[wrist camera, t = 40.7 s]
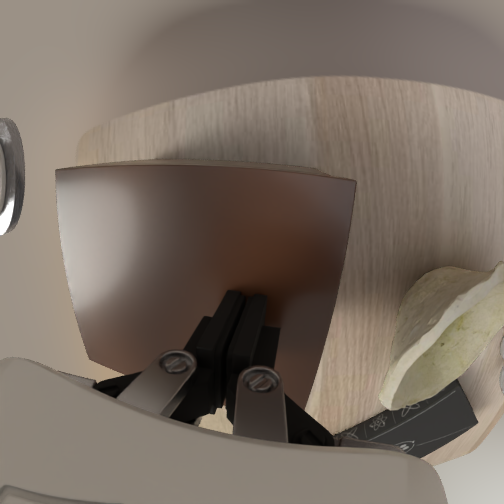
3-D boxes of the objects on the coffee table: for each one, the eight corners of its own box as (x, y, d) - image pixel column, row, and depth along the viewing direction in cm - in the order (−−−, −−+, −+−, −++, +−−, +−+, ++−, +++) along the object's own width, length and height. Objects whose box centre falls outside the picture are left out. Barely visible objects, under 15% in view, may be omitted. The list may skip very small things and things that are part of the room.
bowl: (414, 380, 24) (436, 448, 15) (331, 323, 24) (340, 408, 14) (505, 285, 19) (557, 333, 10) (441, 195, 18) (516, 224, 9)
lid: (353, 179, 10) (357, 180, 9) (302, 408, 14) (301, 418, 13) (65, 168, 12) (55, 169, 11) (95, 353, 16) (89, 359, 15)
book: (450, 366, 23) (458, 383, 20) (472, 409, 25) (478, 423, 22) (307, 444, 31) (306, 461, 28) (358, 470, 32) (358, 484, 30)
